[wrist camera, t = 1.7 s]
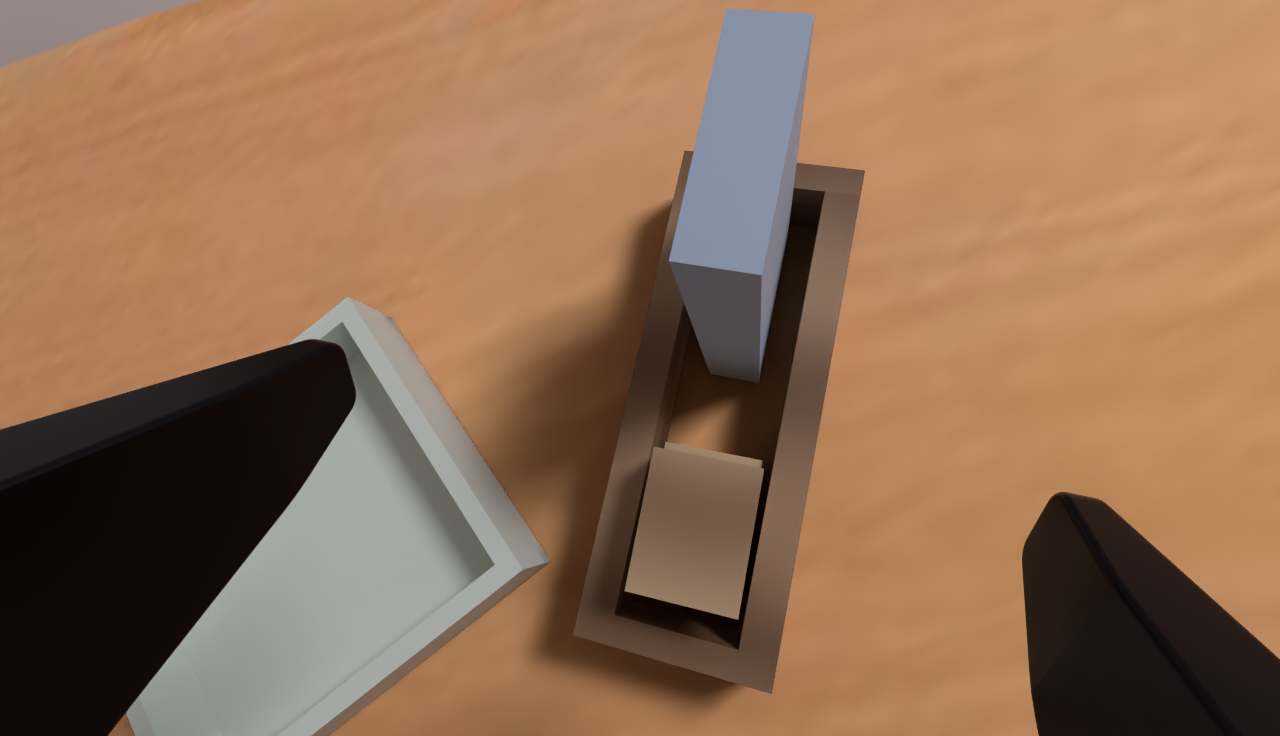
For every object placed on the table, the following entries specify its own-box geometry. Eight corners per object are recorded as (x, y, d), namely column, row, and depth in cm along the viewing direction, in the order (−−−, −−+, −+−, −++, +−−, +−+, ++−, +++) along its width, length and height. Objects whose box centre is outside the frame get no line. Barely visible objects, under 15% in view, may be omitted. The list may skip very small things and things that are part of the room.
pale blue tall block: (759, 382, 20) (761, 274, 10) (710, 373, 20) (669, 261, 11) (787, 238, 21) (814, 13, 11) (739, 231, 21) (726, 9, 12)
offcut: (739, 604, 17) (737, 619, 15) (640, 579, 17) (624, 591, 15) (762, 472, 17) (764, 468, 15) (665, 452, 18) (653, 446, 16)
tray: (246, 799, 20) (177, 840, 18) (125, 529, 23) (52, 532, 21) (550, 561, 20) (522, 569, 18) (390, 318, 23) (347, 296, 20)
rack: (769, 668, 18) (771, 694, 16) (595, 618, 19) (572, 635, 17) (852, 209, 21) (864, 170, 18) (692, 189, 22) (684, 150, 19)
